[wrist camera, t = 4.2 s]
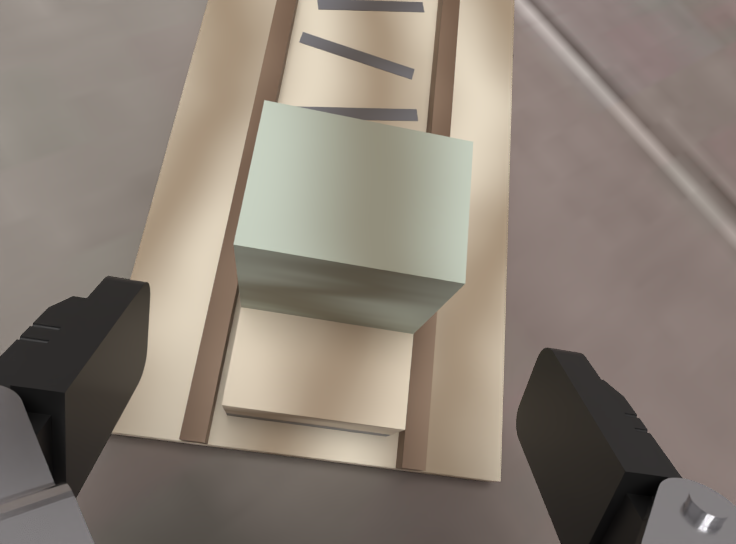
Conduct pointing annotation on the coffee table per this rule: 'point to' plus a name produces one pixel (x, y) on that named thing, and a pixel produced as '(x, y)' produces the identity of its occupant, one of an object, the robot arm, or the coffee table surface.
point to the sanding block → (342, 266)
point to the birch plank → (226, 192)
